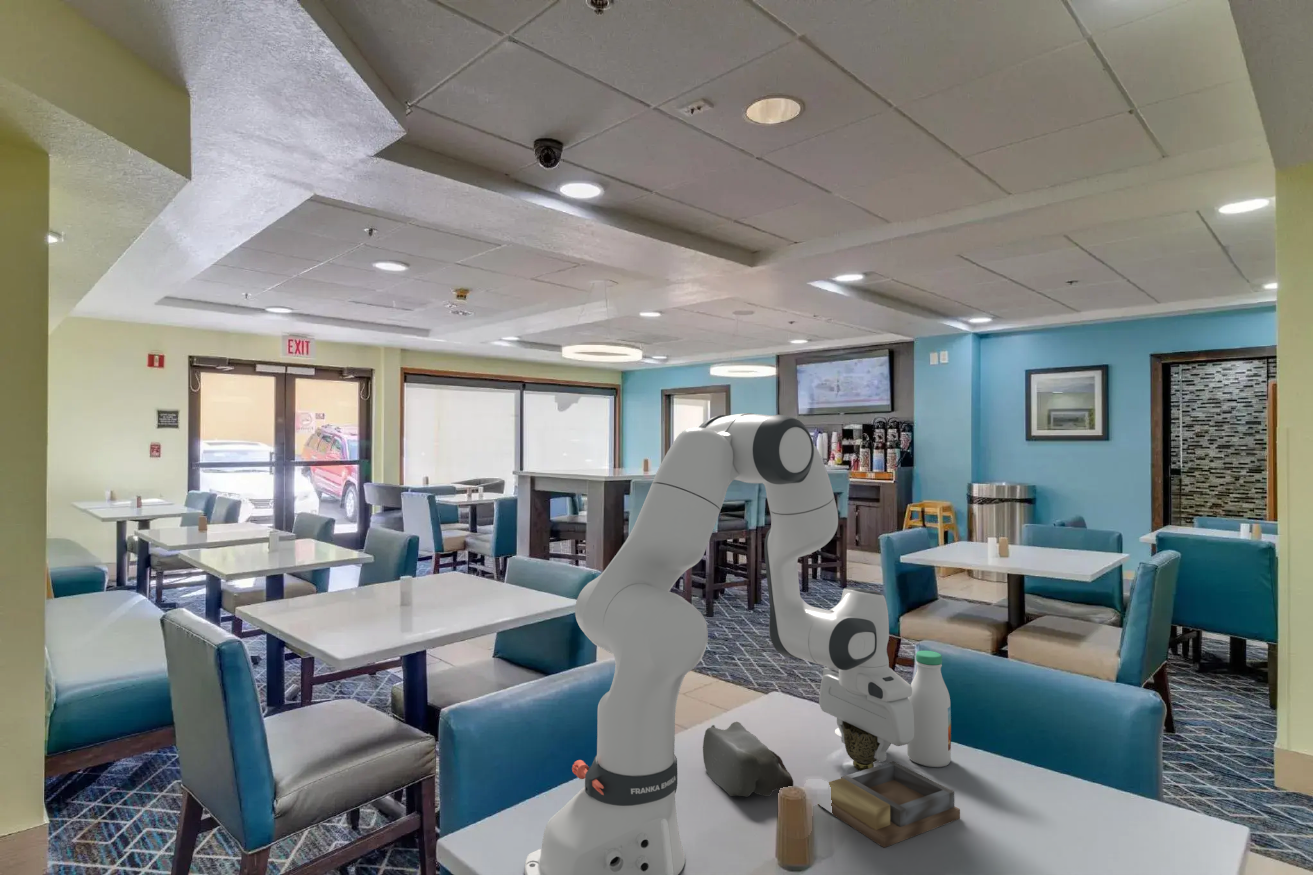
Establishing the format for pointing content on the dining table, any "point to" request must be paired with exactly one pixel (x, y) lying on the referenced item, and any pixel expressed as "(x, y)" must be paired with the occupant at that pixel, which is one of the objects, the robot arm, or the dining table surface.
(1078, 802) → the dining table surface
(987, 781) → the dining table surface
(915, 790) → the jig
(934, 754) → the milk bottle
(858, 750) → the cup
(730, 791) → the rock
